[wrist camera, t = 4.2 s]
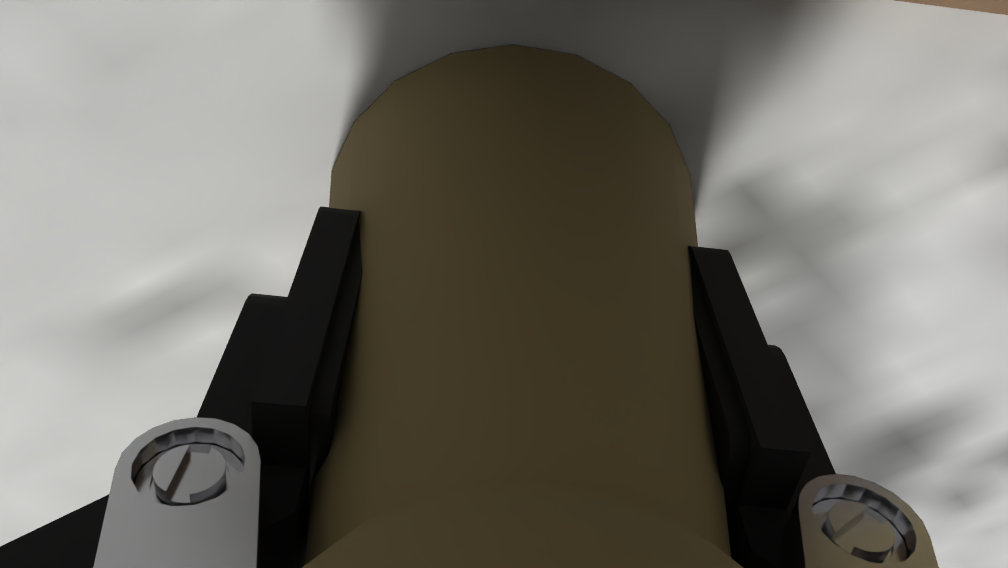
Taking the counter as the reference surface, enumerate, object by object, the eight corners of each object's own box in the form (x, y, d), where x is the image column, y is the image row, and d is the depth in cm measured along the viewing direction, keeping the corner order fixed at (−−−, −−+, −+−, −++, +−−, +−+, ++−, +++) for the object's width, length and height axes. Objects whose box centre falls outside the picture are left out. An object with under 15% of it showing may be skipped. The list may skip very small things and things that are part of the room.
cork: (759, 116, 14) (1289, 978, 4) (609, 398, 17) (738, 1241, 8) (378, -11, 13) (48, 783, 3) (294, 316, 16) (6, 1183, 7)
